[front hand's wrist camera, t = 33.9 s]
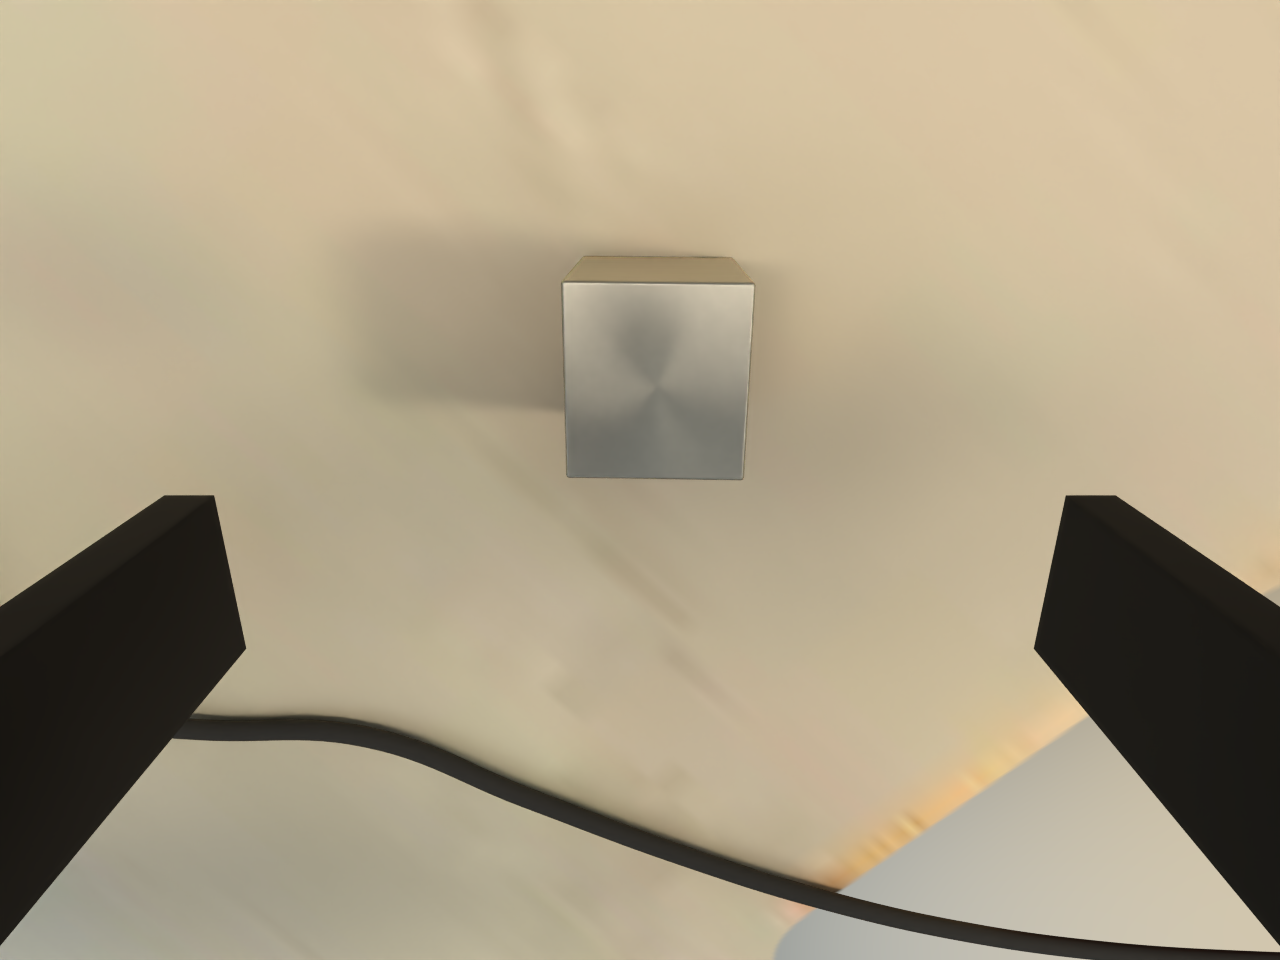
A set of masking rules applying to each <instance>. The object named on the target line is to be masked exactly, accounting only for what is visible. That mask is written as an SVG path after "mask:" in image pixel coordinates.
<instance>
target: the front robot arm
mask: <svg viewBox="0 0 1280 960" xmlns="http://www.w3.org/2000/svg"><path fill="white" fill-rule="evenodd" d="M245 649H246V645H245V641H244V636H243V631H242V626H241V622H240V617H239V612H238V607H237V603H236V598H235V593H234V588H233V583H232V579H231V574H230V569H229V564H228V560H227V555H226V550H225V545H224V540H223V536H222V531H221V526H220V521H219V517H218V512H217V507H216V502H215V498H214V495H164V496H163V497H161V498H160V499H158V500H157V501H156V502H154V503H153V504H151V505H150V506H148V507H147V508H145V509H144V510H142V511H141V512H139V513H138V514H136V515H135V516H133V517H132V518H130V519H129V520H128V521H126V522H125V523H123V524H122V525H120V526H119V527H117V528H116V529H114V530H113V531H111V532H110V533H108V534H107V535H105V536H104V537H102V538H101V539H100V540H98V541H97V542H95V543H94V544H92V545H91V546H89V547H88V548H86V549H85V550H83V551H82V552H80V553H79V554H77V555H76V556H74V557H73V558H72V559H70V560H69V561H67V562H66V563H64V564H63V565H61V566H60V567H58V568H57V569H55V570H54V571H52V572H51V573H49V574H48V575H46V576H45V577H43V578H42V579H41V580H39V581H38V582H36V583H35V584H33V585H32V586H30V587H29V588H27V589H26V590H24V591H23V592H21V593H20V594H18V595H17V596H15V597H14V598H13V599H11V600H10V601H8V602H7V603H5V604H4V605H2V606H1V607H0V945H1V944H2V943H3V942H4V941H5V939H6V938H7V937H8V936H9V935H10V933H11V932H12V931H13V930H14V928H15V927H16V926H17V925H18V924H19V922H20V921H21V920H22V919H23V918H24V916H25V915H26V914H27V913H28V912H29V910H30V909H31V908H32V907H33V906H34V904H35V903H36V902H37V901H38V899H39V898H40V897H41V896H42V895H43V893H44V892H45V891H46V890H47V889H48V887H49V886H50V885H51V884H52V883H53V881H54V880H55V879H56V878H57V877H58V875H59V874H60V873H61V872H62V870H63V869H64V868H65V867H66V866H67V864H68V863H69V862H70V861H71V860H72V858H73V857H74V856H75V855H76V854H77V852H78V851H79V850H80V849H81V848H82V846H83V845H84V844H85V843H86V842H87V840H88V839H89V838H90V837H91V835H92V834H93V833H94V832H95V831H96V829H97V828H98V827H99V826H100V825H101V823H102V822H103V821H104V820H105V819H106V817H107V816H108V815H109V814H110V813H111V811H112V810H113V809H114V808H115V806H116V805H117V804H118V803H119V802H120V800H121V799H122V798H123V797H124V796H125V794H126V793H127V792H128V791H129V790H130V788H131V787H132V786H133V785H134V784H135V782H136V781H137V780H138V779H139V777H140V776H141V775H142V774H143V773H144V771H145V770H146V769H147V768H148V767H149V765H150V764H151V763H152V762H153V761H154V759H155V758H156V757H157V756H158V755H159V753H160V752H161V751H162V750H163V748H164V747H165V746H166V745H167V744H168V742H169V741H170V740H171V739H172V738H174V739H190V740H209V741H268V740H311V741H326V742H336V743H343V744H350V745H355V746H361V747H366V748H370V749H375V750H379V751H383V752H387V753H390V754H394V755H397V756H400V757H404V758H407V759H410V760H412V761H415V762H418V763H421V764H423V765H426V766H428V767H431V768H433V769H436V770H438V771H440V772H443V773H445V774H447V775H449V776H452V777H454V778H456V779H458V780H460V781H463V782H465V783H467V784H469V785H471V786H474V787H476V788H478V789H480V790H482V791H485V792H487V793H489V794H492V795H494V796H496V797H499V798H501V799H503V800H506V801H508V802H511V803H513V804H516V805H519V806H521V807H524V808H526V809H529V810H532V811H534V812H537V813H540V814H542V815H545V816H548V817H550V818H553V819H556V820H558V821H561V822H563V823H566V824H569V825H571V826H574V827H577V828H579V829H582V830H584V831H587V832H590V833H592V834H595V835H598V836H600V837H603V838H606V839H608V840H611V841H614V842H616V843H619V844H622V845H624V846H627V847H630V848H633V849H635V850H638V851H641V852H644V853H647V854H649V855H652V856H655V857H658V858H661V859H664V860H667V861H670V862H672V863H675V864H678V865H681V866H684V867H687V868H690V869H693V870H696V871H699V872H702V873H705V874H708V875H711V876H714V877H717V878H720V879H723V880H726V881H729V882H732V883H735V884H738V885H741V886H744V887H747V888H750V889H753V890H757V891H760V892H763V893H766V894H770V895H773V896H776V897H780V898H783V899H787V900H790V901H794V902H797V903H801V904H804V905H808V906H812V907H815V908H819V909H823V910H826V911H830V912H834V913H838V914H841V915H845V916H849V917H853V918H857V919H861V920H865V921H869V922H873V923H877V924H881V925H885V926H890V927H894V928H899V929H903V930H908V931H912V932H917V933H922V934H927V935H932V936H937V937H942V938H948V939H953V940H958V941H964V942H969V943H975V944H981V945H987V946H993V947H999V948H1005V949H1011V950H1018V951H1025V952H1032V953H1039V954H1047V955H1055V956H1064V957H1072V958H1081V959H1090V960H1280V952H1259V951H1258V952H1257V951H1235V950H1213V949H1193V948H1176V947H1161V946H1147V945H1135V944H1124V943H1114V942H1104V941H1094V940H1084V939H1075V938H1067V937H1058V936H1050V935H1042V934H1035V933H1027V932H1021V931H1014V930H1007V929H1001V928H995V927H990V926H984V925H978V924H972V923H967V922H962V921H956V920H951V919H945V918H940V917H935V916H930V915H925V914H921V913H916V912H911V911H907V910H902V909H898V908H893V907H889V906H885V905H881V904H877V903H873V902H869V901H865V900H861V899H857V898H853V897H849V896H845V895H842V894H838V893H834V892H831V891H827V890H823V889H820V888H816V887H812V886H809V885H805V884H802V883H798V882H795V881H791V880H788V879H784V878H781V877H778V876H775V875H771V874H768V873H765V872H762V871H758V870H755V869H752V868H749V867H746V866H743V865H740V864H737V863H734V862H731V861H728V860H725V859H722V858H719V857H716V856H713V855H710V854H707V853H704V852H702V851H699V850H696V849H693V848H690V847H687V846H684V845H681V844H678V843H676V842H673V841H670V840H667V839H664V838H661V837H658V836H656V835H653V834H650V833H647V832H645V831H642V830H639V829H636V828H634V827H631V826H628V825H626V824H623V823H620V822H618V821H615V820H612V819H610V818H607V817H604V816H602V815H599V814H596V813H594V812H591V811H589V810H586V809H583V808H581V807H578V806H576V805H573V804H571V803H568V802H565V801H563V800H560V799H558V798H555V797H552V796H550V795H547V794H544V793H542V792H539V791H537V790H534V789H531V788H529V787H526V786H524V785H521V784H519V783H516V782H514V781H511V780H509V779H507V778H504V777H502V776H500V775H497V774H495V773H493V772H491V771H488V770H486V769H484V768H482V767H480V766H477V765H475V764H473V763H471V762H469V761H467V760H464V759H462V758H460V757H458V756H456V755H453V754H451V753H449V752H446V751H444V750H442V749H439V748H437V747H434V746H432V745H429V744H427V743H424V742H421V741H419V740H416V739H413V738H410V737H406V736H403V735H400V734H396V733H393V732H389V731H385V730H381V729H377V728H372V727H367V726H362V725H357V724H350V723H343V722H335V721H324V720H203V719H188V718H189V717H190V716H191V715H192V713H193V712H194V711H195V710H196V709H197V707H198V706H199V705H200V704H201V703H202V701H203V700H204V699H205V698H206V697H207V695H208V694H209V693H210V692H211V690H212V689H213V688H214V687H215V686H216V684H217V683H218V682H219V681H220V680H221V678H222V677H223V676H224V675H225V674H226V672H227V671H228V670H229V669H230V668H231V666H232V665H233V664H234V663H235V662H236V660H237V659H238V658H239V657H240V655H241V654H242V653H243V652H244V651H245ZM1034 649H1035V651H1036V652H1037V653H1038V654H1039V655H1040V657H1041V658H1042V659H1043V660H1044V662H1045V663H1046V664H1047V665H1048V666H1049V668H1050V669H1051V670H1052V671H1053V672H1054V674H1055V675H1056V676H1057V677H1058V678H1059V680H1060V681H1061V682H1062V683H1063V684H1064V686H1065V687H1066V688H1067V689H1068V691H1069V692H1070V693H1071V694H1072V695H1073V697H1074V698H1075V699H1076V700H1077V701H1078V703H1079V704H1080V705H1081V706H1082V707H1083V709H1084V710H1085V711H1086V712H1087V713H1088V715H1089V716H1090V717H1091V718H1092V719H1093V721H1094V722H1095V723H1096V724H1097V726H1098V727H1099V728H1100V729H1101V730H1102V732H1103V733H1104V734H1105V735H1106V736H1107V738H1108V739H1109V740H1110V741H1111V742H1112V744H1113V745H1114V746H1115V747H1116V748H1117V750H1118V751H1119V752H1120V753H1121V755H1122V756H1123V757H1124V758H1125V759H1126V761H1127V762H1128V763H1129V764H1130V765H1131V767H1132V768H1133V769H1134V770H1135V771H1136V773H1137V774H1138V775H1139V776H1140V777H1141V779H1142V780H1143V781H1144V782H1145V784H1146V785H1147V786H1148V787H1149V788H1150V790H1151V791H1152V792H1153V793H1154V794H1155V796H1156V797H1157V798H1158V799H1159V800H1160V802H1161V803H1162V804H1163V805H1164V806H1165V808H1166V809H1167V810H1168V811H1169V813H1170V814H1171V815H1172V816H1173V817H1174V819H1175V820H1176V821H1177V822H1178V823H1179V825H1180V826H1181V827H1182V828H1183V829H1184V831H1185V832H1186V833H1187V834H1188V835H1189V837H1190V838H1191V839H1192V840H1193V842H1194V843H1195V844H1196V845H1197V846H1198V848H1199V849H1200V850H1201V851H1202V852H1203V854H1204V855H1205V856H1206V857H1207V858H1208V860H1209V861H1210V862H1211V863H1212V864H1213V866H1214V867H1215V868H1216V869H1217V870H1218V872H1219V873H1220V874H1221V875H1222V876H1223V878H1224V879H1225V880H1226V881H1227V883H1228V884H1229V885H1230V886H1231V887H1232V889H1233V890H1234V891H1235V892H1236V893H1237V895H1238V896H1239V897H1240V898H1241V899H1242V901H1243V902H1244V903H1245V904H1246V906H1247V907H1248V908H1249V909H1250V910H1251V912H1252V913H1253V914H1254V915H1255V916H1256V918H1257V919H1258V920H1259V921H1260V922H1261V924H1262V925H1263V926H1264V927H1265V928H1266V930H1267V931H1268V932H1269V933H1270V934H1271V936H1272V937H1273V938H1274V939H1275V941H1276V942H1277V943H1278V944H1279V945H1280V607H1279V606H1278V605H1276V604H1275V603H1273V602H1272V601H1270V600H1269V599H1267V598H1266V597H1265V596H1263V595H1262V594H1260V593H1259V592H1257V591H1256V590H1254V589H1253V588H1251V587H1250V586H1248V585H1247V584H1245V583H1244V582H1242V581H1241V580H1239V579H1238V578H1237V577H1235V576H1234V575H1232V574H1231V573H1229V572H1228V571H1226V570H1225V569H1223V568H1222V567H1220V566H1219V565H1217V564H1216V563H1214V562H1213V561H1211V560H1210V559H1208V558H1207V557H1206V556H1204V555H1203V554H1201V553H1200V552H1198V551H1197V550H1195V549H1194V548H1192V547H1191V546H1189V545H1188V544H1186V543H1185V542H1183V541H1182V540H1180V539H1179V538H1178V537H1176V536H1175V535H1173V534H1172V533H1170V532H1169V531H1167V530H1166V529H1164V528H1163V527H1161V526H1160V525H1158V524H1157V523H1155V522H1154V521H1152V520H1151V519H1150V518H1148V517H1147V516H1145V515H1144V514H1142V513H1141V512H1139V511H1138V510H1136V509H1135V508H1133V507H1132V506H1130V505H1129V504H1127V503H1126V502H1124V501H1123V500H1122V499H1120V498H1119V497H1117V496H1116V495H1066V497H1065V502H1064V507H1063V512H1062V517H1061V521H1060V526H1059V531H1058V536H1057V540H1056V545H1055V550H1054V555H1053V560H1052V564H1051V569H1050V574H1049V579H1048V583H1047V588H1046V593H1045V598H1044V602H1043V607H1042V612H1041V617H1040V622H1039V626H1038V631H1037V636H1036V641H1035V645H1034Z"/></svg>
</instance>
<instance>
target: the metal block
mask: <svg viewBox="0 0 1280 960" xmlns="http://www.w3.org/2000/svg"><path fill="white" fill-rule="evenodd" d="M561 297H562V334H563V370H564V407H565V443H566V475H567V477H569V478H630V479H698V480H743V478H744V467H745V450H746V433H747V417H748V400H749V383H750V366H751V349H752V332H753V316H754V299H755V283H754V282H753V281H752V280H751V279H750V277H749V276H748V275H747V274H746V273H745V272H744V271H743V270H742V268H741V267H740V266H739V265H738V264H737V263H736V262H735V260H734V259H733V258H712V257H615V256H584V257H583V258H582V259H581V260H580V261H579V262H578V263H577V265H576V266H575V267H574V268H573V269H572V270H571V271H570V273H569V274H568V275H567V276H566V277H565V278H564V279H563V281H562V282H561Z"/></svg>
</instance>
